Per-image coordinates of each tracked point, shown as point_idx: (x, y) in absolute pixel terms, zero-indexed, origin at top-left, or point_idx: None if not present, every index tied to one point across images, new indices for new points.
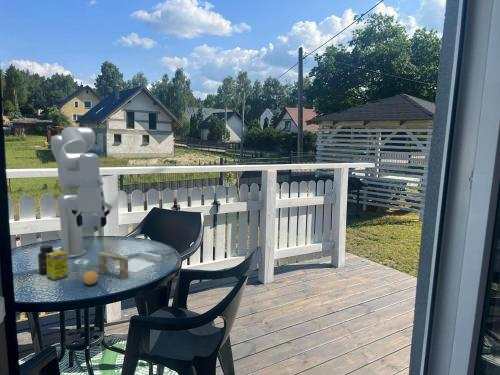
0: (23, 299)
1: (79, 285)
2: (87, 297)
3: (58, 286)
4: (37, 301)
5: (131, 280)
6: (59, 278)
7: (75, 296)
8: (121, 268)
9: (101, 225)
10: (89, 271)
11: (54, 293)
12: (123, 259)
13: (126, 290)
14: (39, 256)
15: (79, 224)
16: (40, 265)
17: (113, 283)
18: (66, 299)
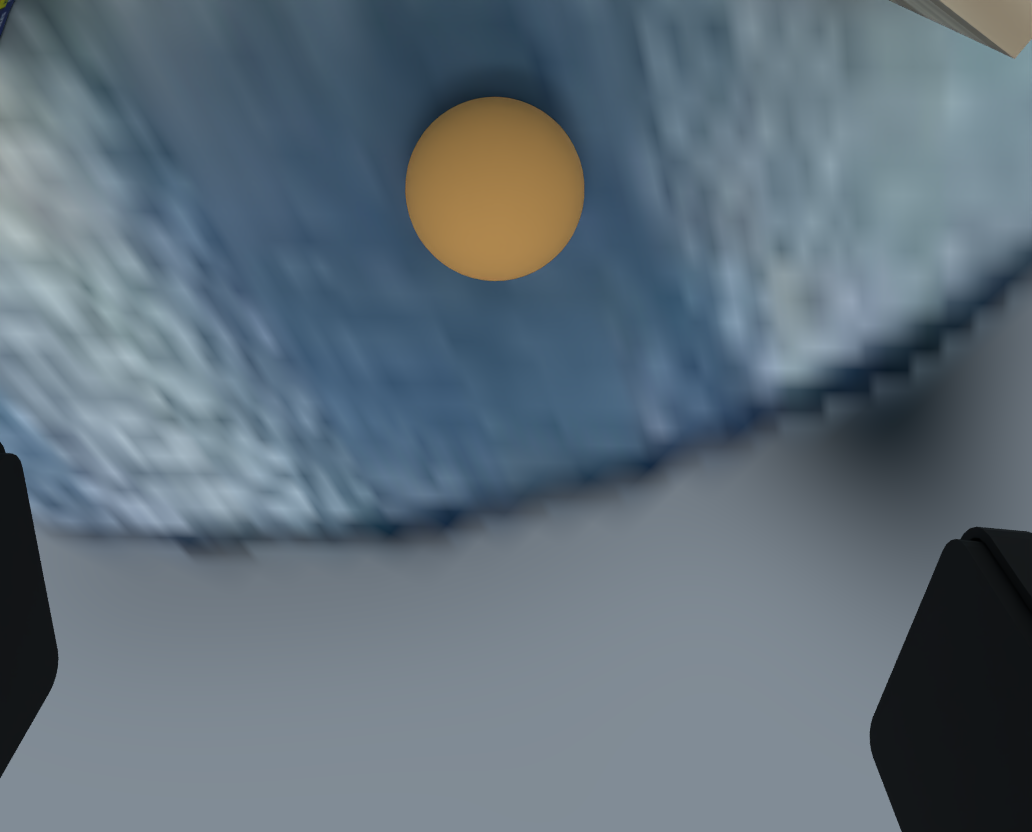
0: None
1: (373, 194)
2: (568, 467)
3: (145, 218)
4: (164, 527)
5: None
6: (11, 3)
7: (449, 447)
8: (911, 4)
9: (901, 783)
10: (478, 217)
11: (212, 385)
12: (1016, 37)
13: (924, 332)
14: None
15: (27, 704)
16: None
17: (763, 140)
18: (394, 499)
